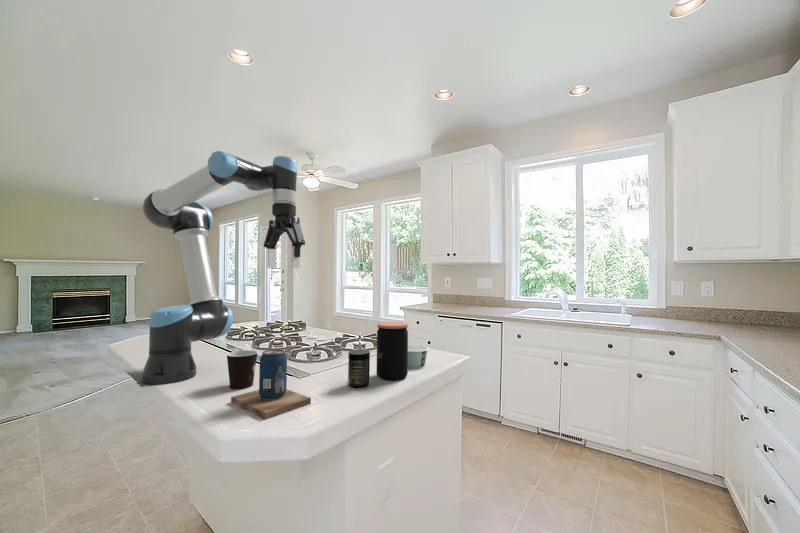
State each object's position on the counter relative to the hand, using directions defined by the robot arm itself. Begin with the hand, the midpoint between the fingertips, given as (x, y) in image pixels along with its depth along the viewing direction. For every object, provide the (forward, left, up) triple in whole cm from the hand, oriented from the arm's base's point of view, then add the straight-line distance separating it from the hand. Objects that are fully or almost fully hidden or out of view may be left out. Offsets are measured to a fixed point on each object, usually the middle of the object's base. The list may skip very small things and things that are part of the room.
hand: (283, 267), depth 113 cm
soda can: (+16, -13, -35) cm, 41 cm away
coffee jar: (+26, +26, -37) cm, 52 cm away
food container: (+22, +44, -37) cm, 62 cm away
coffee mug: (-4, -10, -37) cm, 38 cm away
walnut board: (+16, -14, -37) cm, 42 cm away
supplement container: (+24, +12, -37) cm, 46 cm away
